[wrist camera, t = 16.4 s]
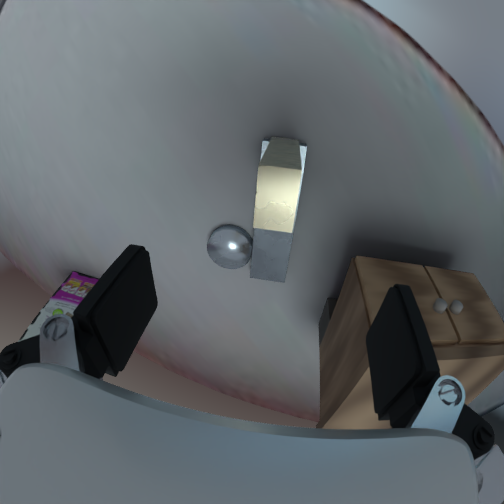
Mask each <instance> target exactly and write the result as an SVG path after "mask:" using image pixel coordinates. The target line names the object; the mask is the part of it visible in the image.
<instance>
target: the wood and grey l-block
mask: <svg viewBox="0 0 504 504" xmlns="http://www.w3.org/2000/svg"><path fill="white" fill-rule="evenodd" d="M306 150H307V145H306V144H304V143H299V140H295V139H288V138H280V137H271V139H266V138H264V139H263V141H262V152H261V161H260V163H259V167H258V178H257V189H256V200H255V212H254V223H253V228H254V239H253V250H252V261H251V271H250V278H257V279H263V280H270V281H277V282H285V277H286V272H287V266H288V261H289V255H290V250H291V244H292V238H293V233H294V227H295V221H296V215H297V209H298V203H299V197H300V190H301V184H302V177H303V171H304V164H305V157H306Z"/></svg>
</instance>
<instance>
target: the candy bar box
mask: <svg viewBox="0 0 504 504" xmlns="http://www.w3.org/2000/svg"><path fill="white" fill-rule="evenodd" d="M98 280H99V279H96V278H92V277H89V276H86V275H83V274H79V273H76V272H72V273H71V274H70V275H69V276H68V278H67V279H66V280H65V281H64V282H63V283H62V285H61V286H60V287H59V288H58V290H57V291H56V292H55V293H54V294H53V296H52V297H51V298H50V300H49V301H48V302H47V303H46V305H45V306H44V307H43V308H42V309H41V311H40V312H39V314H38V315H37V316H36V317H35V319H34V320H33V321H32V323H31V324H30V326H29V327H28V328H27V330H26V331H25V333H24V334H23V336H22V337H21V338H20V340H19V341H22V340H24V339H27V338H30V337H33V336H36V335H39V334H40V329H41V326H42V324H43V323H44V322H45V321H46V320H47V319H48V318H49V317H51V316H53V315H56V314H66V315H68V316H69V317H70V318H71V317H72V316H73V315H74V314H73V311H74V310H75V309H76V307H77V306H78V305H79V303H80V302H81V301H82V300H83V298H84V297H85V296H86V295H87V293H88V292H89V291H90V290H91V289H92V287H93V286H94V285H95V284H96V282H97V281H98ZM19 341H18V342H19Z"/></svg>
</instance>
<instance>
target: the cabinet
mask: <svg viewBox="0 0 504 504" xmlns="http://www.w3.org/2000/svg"><path fill="white" fill-rule="evenodd" d="M395 284H403V285H409V286H410V288H411V290H412V292H413V295H414V297H415V300H416V302H417V305H418V307H419V310H420V312H421V315H422V318H423V320H424V323H425V326H426V328H427V331H428V334H429V337H430V340H431V343H432V346H433V349H434V352H435V355H436V358H437V362H438V365H439V368H440V375H441V377H442V376H445V375H448V376H452V377H454V378H456V379H457V380H458V381H459V382H460V383H461V384H462V386H463V388H464V390H465V402H464V403H465V404H466V405H468V404H469V403H470V402H471V401H472V400H473V399H474V398H476V397H477V396H478V395H479V394H480V393H481V392H482V391H483V390H484V389H485V388H486V387H487V386H488V385H489V384H490V383H491V382H492V381H493V380H494V379H495V378H496V377H497V376H498V375H499V374H500V373H501V372H502V371H503V370H504V322H503V321H502V319H501V317H500V315H499V313H498V312H497V310H496V308H495V306H494V305H493V303H492V301H491V300H490V298H489V296H488V295H487V293H486V292H485V290H484V288H483V287H482V285H481V284H480V282H479V281H478V279H477V278H476V276H475V275H474V274H473V273H467V272H461V271H455V270H448V269H442V268H436V267H429V266H425V268H424V267H423V266H422V265H417V264H410V263H404V262H397V261H390V260H384V259H377V258H371V257H364V256H357V255H356V258H353V257H352V259H351V262H350V265H349V268H348V271H347V274H346V277H345V280H344V283H343V286H342V289H341V292H340V295H339V298H338V299H331V298H328V299H327V302H326V305H325V308H324V311H323V313H322V316H321V319H320V322H319V348H320V421H319V422H318V424H317V425H316V428H319V429H389V428H390V420H383V421H378V414H376V413H375V411H374V403H373V393H372V384H371V376H370V368H369V361H368V354H367V347H366V335H367V332H368V330H369V328H370V327H371V325H372V323H373V321H374V319H375V317H376V315H377V313H378V311H379V309H380V307H381V304H382V302H383V300H384V298H385V296H386V294H387V292H388V289H389V288H390V287H393V286H394V285H395Z"/></svg>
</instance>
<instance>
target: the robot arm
mask: <svg viewBox="0 0 504 504" xmlns="http://www.w3.org/2000/svg"><path fill="white" fill-rule="evenodd" d="M157 303H158V302H157V296H156V291H155V286H154V280H153V275H152V269H151V263H150V257H149V252H148V251H146V250H145V247H143V246H138V245H132V244H131V245H129V246H128V247H127V248H126V249H125V250H124V251H123V252H122V254H121V255H120V256H119V257H118V258H117V259H116V260H115V261H114V263H113V264H112V265H111V266H110V267H109V268H108V269H107V271H106V272H105V273H104V274H103V275H102V277H101V278H100V279H99V280H98V281H97V282H96V284H95V285H94V286H93V287H92V289H91V290H90V291H89V292H88V293H87V295H86V296H85V297H84V298H83V300H82V301H81V302H80V303H79V305H78V306H77V307H76V309H75V310H74V311H73V314H74V315H73V316H72V317H71V318H70V317H69V316H68V315H66V314H56V315H53V316H51V317H49V318H48V319H47V320H46V321H45V322H44V323H43V324H42V326H41V329H40V334H39V335H36V336H33V337H30V338H27V339H24V340H22V341H19V342H16V343H13V344H10V345H8V346H6V347H5V348H4V349H3V350H2V352H1V353H0V504H501V503H502V502H503V500H504V455H503V454H502V452H501V450H500V449H499V447H498V445H497V444H496V445H495V446H493V443H494V431H493V429H492V427H491V426H490V424H489V423H488V422H486V421H485V420H484V419H483V418H482V417H480V416H479V415H478V414H477V413H476V412H474V411H473V410H472V409H471V408H470V407H468V406H467V405H466V404H465V403H464V402H465V390H464V388H463V386H462V384H461V383H460V382H459V381H458V380H457V379H456V378H454V377H452V376H448V375H445V376H442V377H441V375H440V368H439V365H438V362H437V358H436V355H435V352H434V349H433V346H432V343H431V340H430V337H429V334H428V331H427V328H426V326H425V323H424V320H423V318H422V315H421V312H420V310H419V307H418V305H417V302H416V300H415V297H414V295H413V292H412V290H411V288H410V286H409V285H403V284H395V285H394V286H393V287H390V288H389V289H388V292H387V294H386V296H385V298H384V300H383V302H382V304H381V307H380V309H379V311H378V313H377V315H376V317H375V319H374V321H373V323H372V325H371V327H370V328H369V330H368V332H367V335H366V347H367V354H368V361H369V368H370V376H371V384H372V393H373V403H374V411H375V413H376V414H378V421H383V420H390V428H389V429H319V428H304V427H292V426H282V425H273V424H266V423H259V422H252V421H246V420H240V419H234V418H229V417H224V416H219V415H214V414H210V413H205V412H201V411H197V410H193V409H189V408H185V407H181V406H177V405H174V404H170V403H167V402H163V401H160V400H157V399H153V398H150V397H147V396H144V395H141V394H138V393H135V392H132V391H129V390H126V389H124V388H121V387H118V386H116V385H113V384H110V383H108V382H105V381H103V378H102V377H103V376H104V374H105V373H107V374H109V375H112V376H115V377H116V376H117V374H118V372H119V371H122V370H123V369H124V368H125V366H126V364H127V362H128V360H129V358H130V356H131V354H132V352H133V350H134V349H135V347H136V345H137V343H138V341H139V339H140V337H141V336H142V334H143V332H144V330H145V328H146V326H147V325H148V323H149V321H150V319H151V317H152V316H153V314H154V312H155V310H156V308H157Z"/></svg>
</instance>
